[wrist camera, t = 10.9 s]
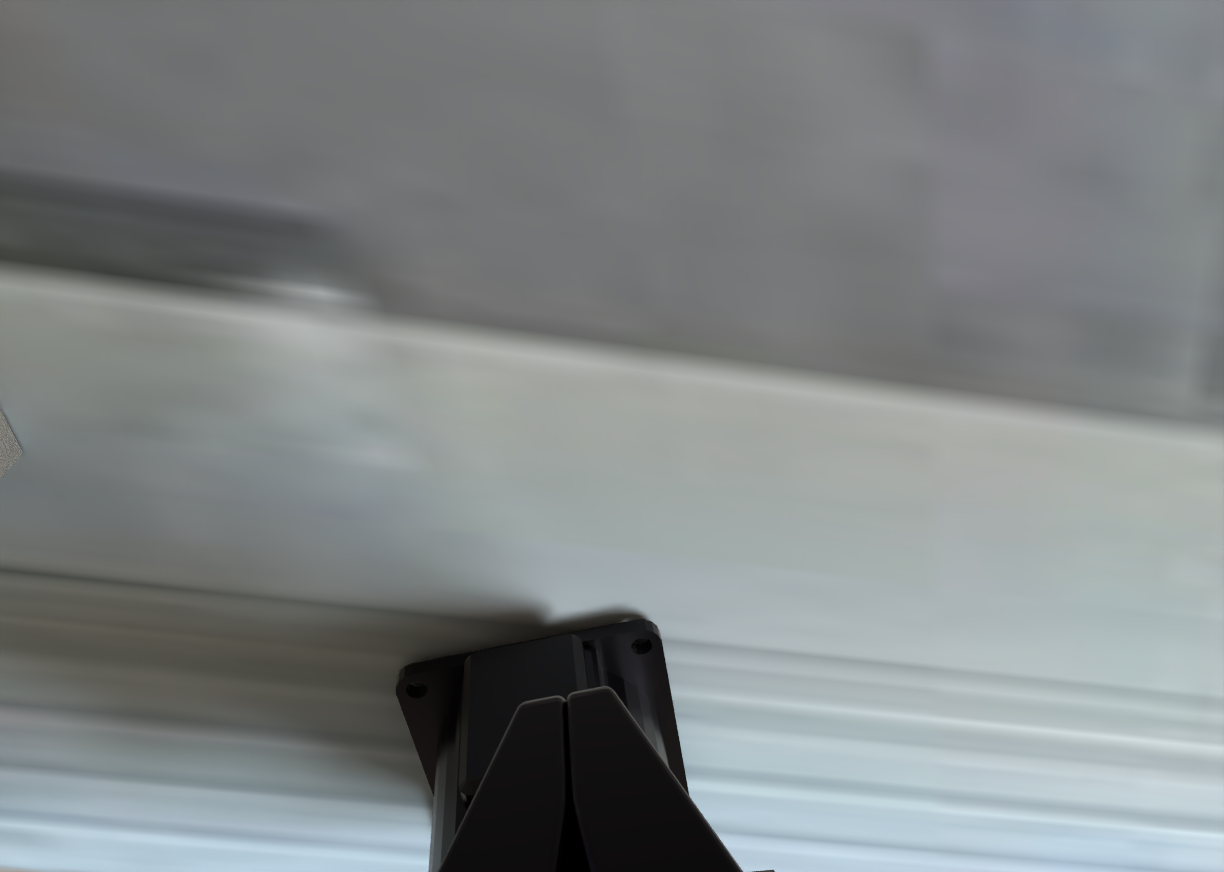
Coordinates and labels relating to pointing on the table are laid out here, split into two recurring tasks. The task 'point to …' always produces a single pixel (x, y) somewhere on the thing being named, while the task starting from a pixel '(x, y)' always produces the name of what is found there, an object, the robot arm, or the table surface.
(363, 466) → the table surface
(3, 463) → the cream railed tray
